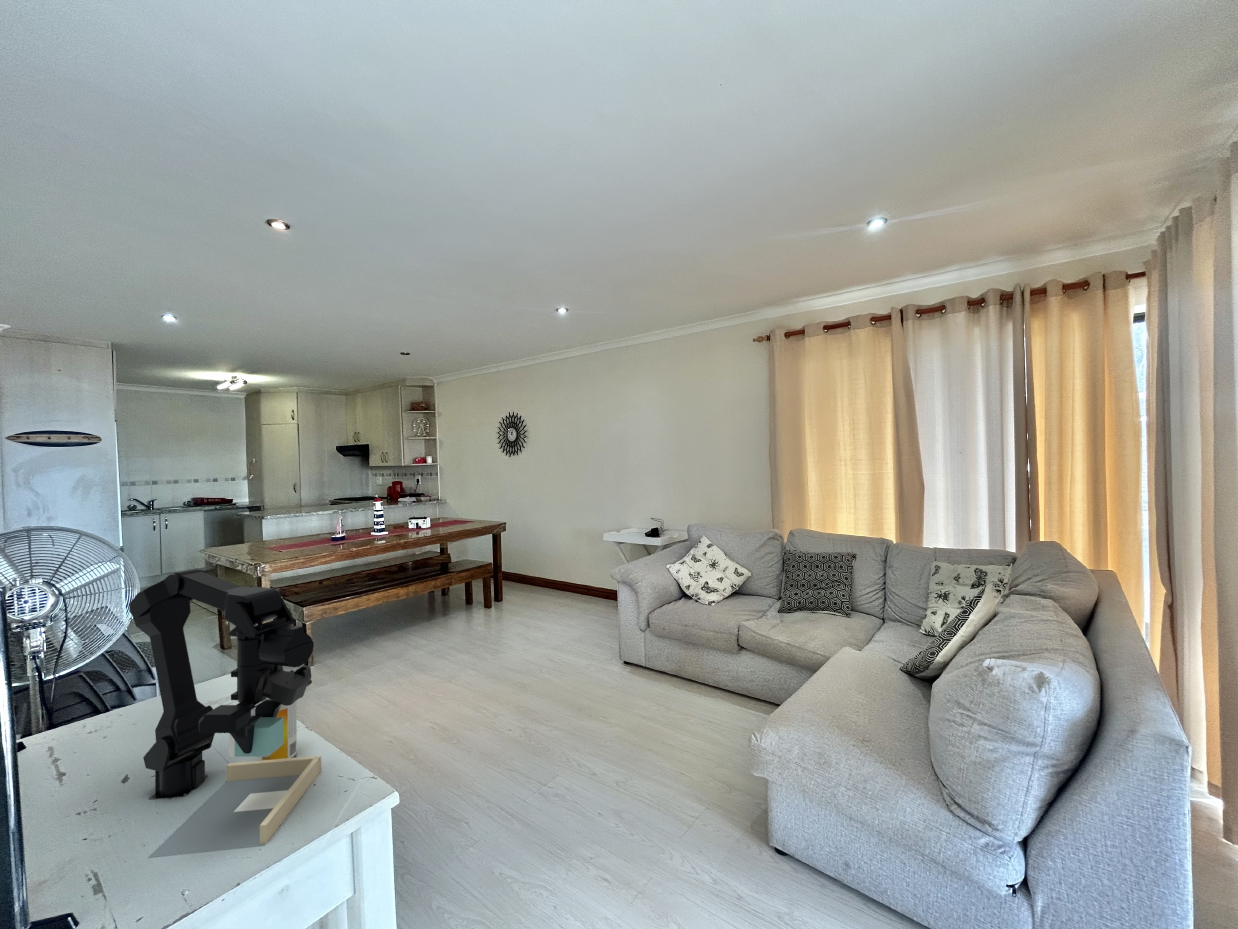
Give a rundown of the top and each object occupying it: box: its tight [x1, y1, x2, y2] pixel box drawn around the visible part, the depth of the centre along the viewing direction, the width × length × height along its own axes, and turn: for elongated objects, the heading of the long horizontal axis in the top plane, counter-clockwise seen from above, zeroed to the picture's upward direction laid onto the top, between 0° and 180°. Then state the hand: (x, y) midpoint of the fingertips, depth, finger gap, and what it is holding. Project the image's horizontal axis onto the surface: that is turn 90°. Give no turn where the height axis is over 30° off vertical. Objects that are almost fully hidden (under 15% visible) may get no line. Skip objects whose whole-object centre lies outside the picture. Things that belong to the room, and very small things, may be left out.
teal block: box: [228, 717, 284, 758], centre depth 91 cm, size 4×7×5 cm, turn 89°
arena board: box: [147, 755, 322, 859], centre depth 90 cm, size 17×20×4 cm
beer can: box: [261, 700, 298, 760], centre depth 106 cm, size 6×6×15 cm
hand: (256, 746), depth 91 cm, fingers closed on teal block, 4 cm apart
